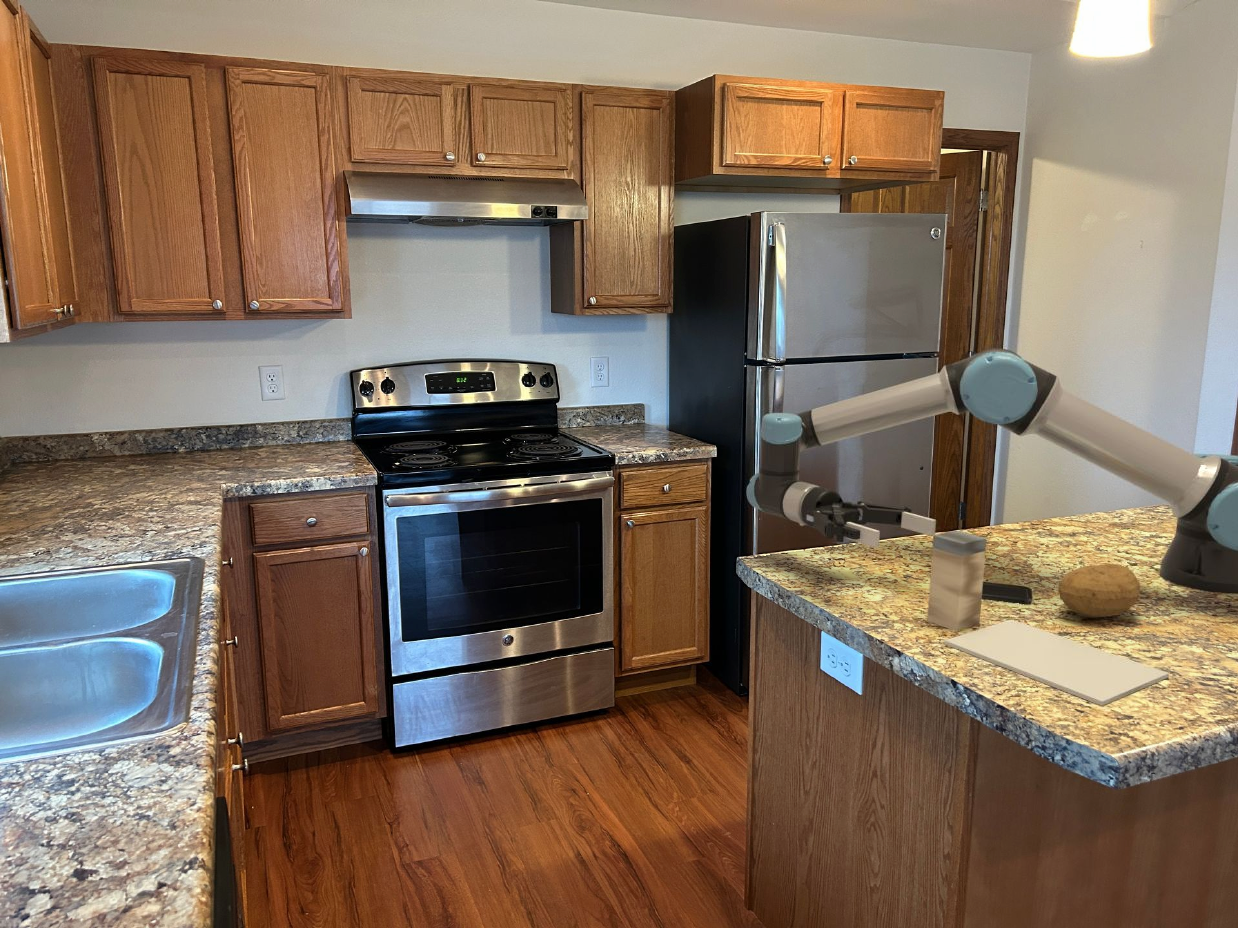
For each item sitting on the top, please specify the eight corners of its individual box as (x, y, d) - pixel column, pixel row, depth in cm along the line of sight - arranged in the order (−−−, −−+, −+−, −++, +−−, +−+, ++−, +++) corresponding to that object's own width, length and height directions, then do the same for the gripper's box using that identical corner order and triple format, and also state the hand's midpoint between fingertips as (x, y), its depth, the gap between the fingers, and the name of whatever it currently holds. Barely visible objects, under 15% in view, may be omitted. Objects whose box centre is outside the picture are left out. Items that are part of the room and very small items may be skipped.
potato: (1037, 611, 149) (1041, 564, 148) (1100, 600, 155) (1104, 554, 153) (1088, 632, 141) (1093, 582, 139) (1152, 619, 146) (1158, 571, 144)
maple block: (950, 614, 148) (956, 530, 146) (979, 624, 144) (986, 538, 141) (927, 620, 145) (933, 535, 143) (956, 631, 141) (963, 543, 138)
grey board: (944, 644, 136) (944, 640, 136) (1011, 622, 144) (1011, 619, 144) (1101, 705, 116) (1102, 701, 116) (1168, 677, 125) (1169, 673, 124)
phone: (1032, 601, 152) (937, 589, 158) (1031, 607, 152) (936, 595, 158) (1031, 586, 159) (940, 575, 165) (1031, 593, 160) (940, 581, 165)
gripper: (860, 517, 175) (953, 544, 158) (761, 535, 162) (851, 567, 145) (863, 479, 174) (957, 502, 156) (763, 494, 161) (854, 521, 143)
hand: (906, 533), depth 150 cm, fingers open, 13 cm apart
